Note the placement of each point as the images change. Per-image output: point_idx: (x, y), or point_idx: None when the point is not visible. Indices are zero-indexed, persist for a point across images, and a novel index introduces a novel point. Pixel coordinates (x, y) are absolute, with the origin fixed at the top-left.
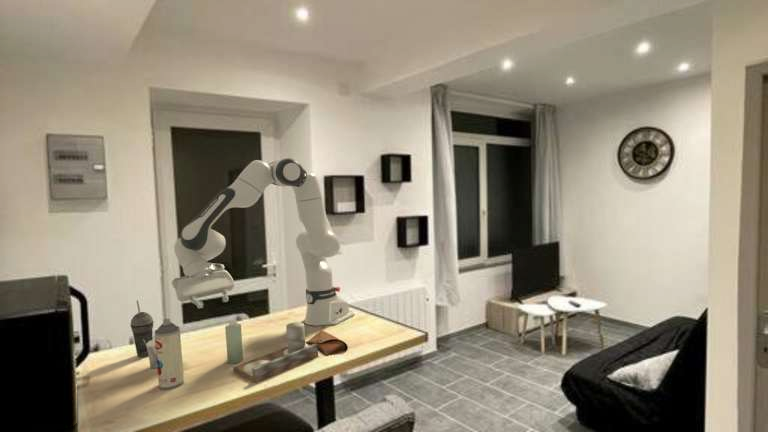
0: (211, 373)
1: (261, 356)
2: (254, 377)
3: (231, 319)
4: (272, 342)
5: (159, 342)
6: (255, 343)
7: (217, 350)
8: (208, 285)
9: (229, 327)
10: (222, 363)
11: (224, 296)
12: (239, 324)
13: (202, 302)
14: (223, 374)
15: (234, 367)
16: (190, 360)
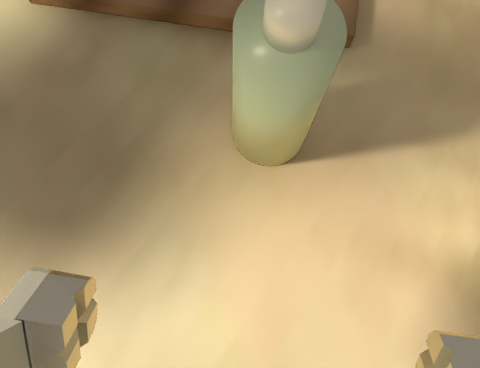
0: (412, 116)
1: (211, 14)
2: None
3: (287, 23)
4: (8, 148)
5: None
6: (54, 223)
7: (222, 341)
8: None
9: (324, 27)
10: (320, 161)
11: (57, 311)
12: (241, 16)
13: (451, 364)
14: (388, 63)
15: (354, 27)
16: (388, 354)
